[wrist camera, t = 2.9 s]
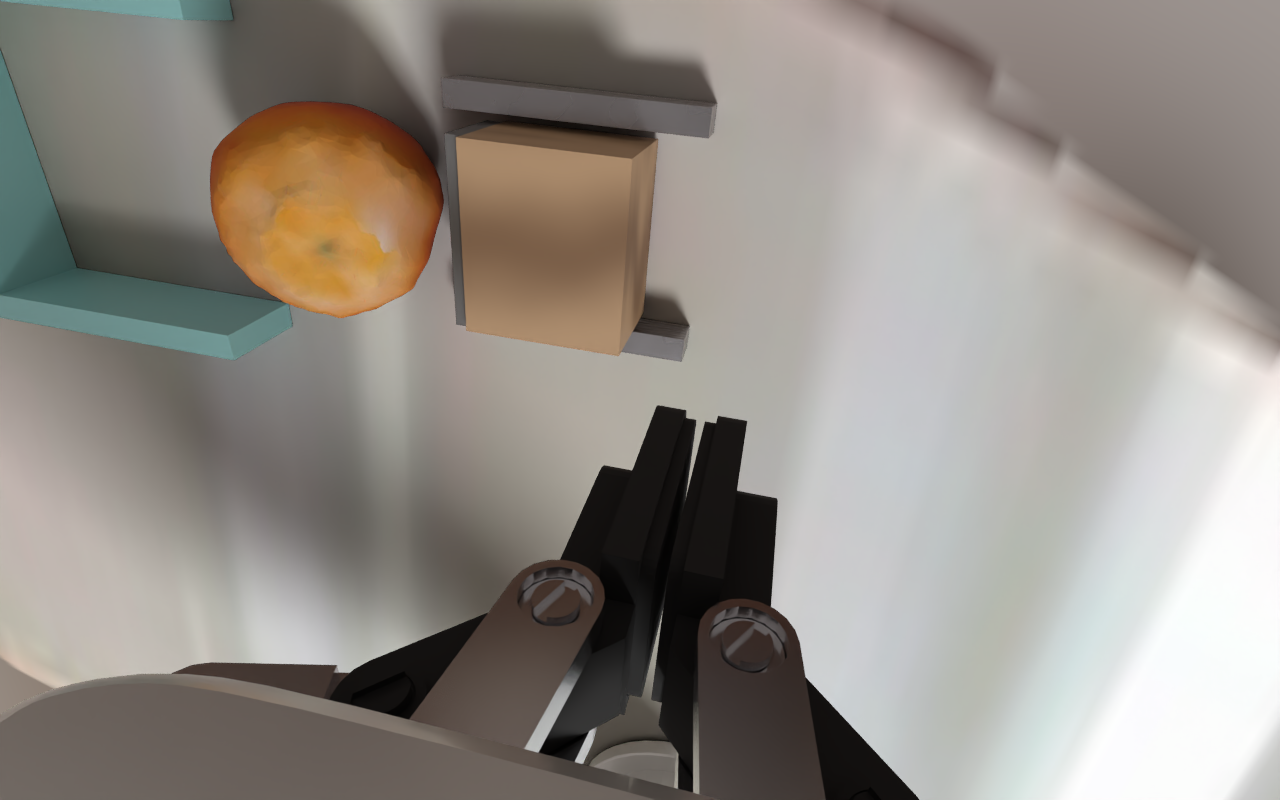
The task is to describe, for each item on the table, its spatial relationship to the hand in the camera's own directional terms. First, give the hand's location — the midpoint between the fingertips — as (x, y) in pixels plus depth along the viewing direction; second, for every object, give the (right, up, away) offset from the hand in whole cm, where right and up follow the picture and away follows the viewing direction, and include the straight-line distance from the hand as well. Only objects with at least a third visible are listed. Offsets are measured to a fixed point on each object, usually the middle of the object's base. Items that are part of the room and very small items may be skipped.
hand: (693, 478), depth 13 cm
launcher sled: (-3, +9, +15) cm, 18 cm away
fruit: (-12, +11, +17) cm, 23 cm away
